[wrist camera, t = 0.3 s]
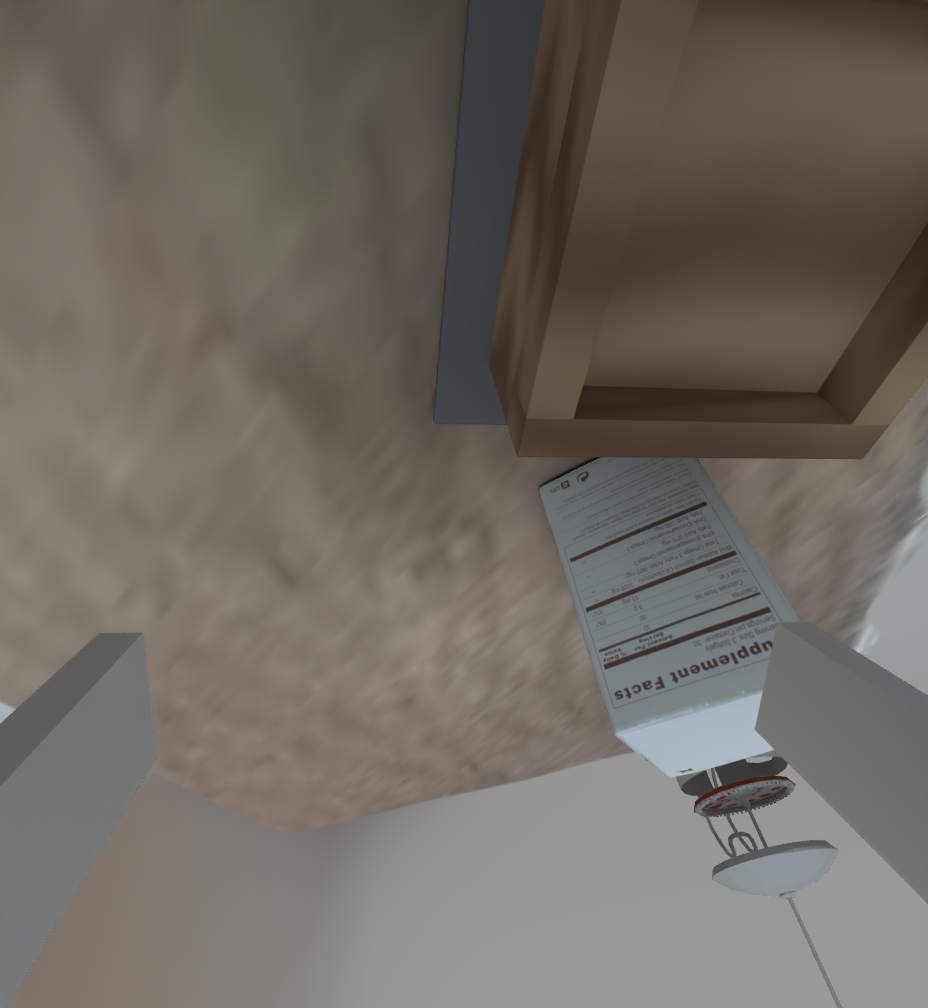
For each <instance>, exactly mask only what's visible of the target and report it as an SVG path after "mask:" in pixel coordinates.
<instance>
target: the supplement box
mask: <svg viewBox="0 0 928 1008" xmlns="http://www.w3.org/2000/svg"><path fill="white" fill-rule="evenodd" d="M539 492H540V495H541V499H542V502H543V505H544V509H545V512H546V515H547V518H548V521H549V524H550V527H551V530H552V533H553V537H554V540H555V543H556V547H557V550H558V553H559V557H560V560H561V563H562V567H563V570H564V573H565V577H566V580H567V583H568V586H569V590H570V593H571V596H572V600H573V603H574V606H575V610H576V613H577V616H578V620H579V623H580V626H581V630H582V633H583V636H584V640H585V643H586V646H587V650H588V653H589V656H590V660H591V663H592V666H593V669H594V673H595V676H596V679H597V683H598V686H599V689H600V692H601V695H602V698H603V702H604V704H605V707H606V710H607V713H608V716H609V719H610V722H611V725H612V729H613V732H614V734H615V736H616V737H617V738H619V739H620V740H621V741H622V742H624V743H625V744H627V745H628V746H629V747H630V748H631V749H633V750H634V751H635V752H636V753H638V754H639V755H640V756H641V757H642V758H643V759H644V760H646V761H648V762H649V763H650V764H651V765H653V766H654V767H655V768H657V769H658V770H659V771H660V772H661V773H663V774H664V775H665V776H666V777H675V776H681V775H686V774H691V773H695V772H699V771H703V770H706V769H710V768H713V767H717V766H721V765H724V764H728V763H731V762H735V761H738V760H741V759H745V758H748V757H752V756H755V755H759V754H762V753H766V752H769V751H773V750H774V749H773V748H772V747H771V746H770V745H769V744H768V743H767V742H766V741H765V740H764V739H763V738H762V737H761V736H760V735H759V734H758V733H757V732H756V731H755V725H756V720H757V716H758V711H759V706H760V702H761V697H762V692H763V688H764V683H765V678H766V674H767V669H768V664H769V660H770V655H771V650H772V646H773V641H774V636H775V632H776V627H777V622H801V621H800V620H799V618H798V617H797V615H796V613H795V612H794V610H793V609H792V607H791V605H790V604H789V602H788V601H787V599H786V598H785V596H784V594H783V593H782V591H781V590H780V588H779V586H778V585H777V583H776V582H775V580H774V578H773V577H772V575H771V574H770V572H769V570H768V569H767V567H766V565H765V564H764V562H763V561H762V559H761V557H760V556H759V554H758V552H757V551H756V549H755V548H754V546H753V544H752V543H751V541H750V540H749V538H748V536H747V535H746V533H745V532H744V530H743V529H742V527H741V525H740V524H739V522H738V521H737V519H736V518H735V516H734V515H733V513H732V511H731V510H730V508H729V507H728V505H727V504H726V502H725V501H724V499H723V497H722V496H721V494H720V493H719V491H718V490H717V488H716V486H715V485H714V483H713V482H712V480H711V479H710V477H709V475H708V474H707V472H706V471H705V469H704V468H703V466H702V465H701V463H700V462H699V460H698V459H697V458H634V457H601V458H599V459H597V460H595V461H593V462H590V463H588V464H586V465H584V466H582V467H580V468H578V469H576V470H574V471H572V472H570V473H568V474H566V475H564V476H562V477H560V478H558V479H556V480H554V481H552V482H550V483H548V484H546V485H544V486H542V487H541V488H540V489H539Z"/></svg>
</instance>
